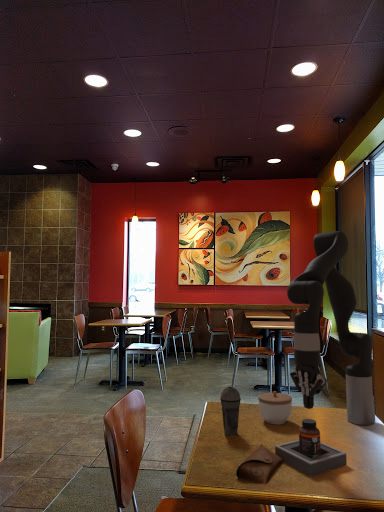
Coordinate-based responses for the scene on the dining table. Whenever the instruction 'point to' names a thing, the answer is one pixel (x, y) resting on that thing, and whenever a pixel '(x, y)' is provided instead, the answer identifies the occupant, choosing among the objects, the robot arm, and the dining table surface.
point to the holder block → (311, 466)
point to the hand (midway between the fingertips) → (308, 407)
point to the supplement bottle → (309, 439)
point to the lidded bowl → (275, 407)
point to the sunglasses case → (259, 466)
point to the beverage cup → (230, 409)
